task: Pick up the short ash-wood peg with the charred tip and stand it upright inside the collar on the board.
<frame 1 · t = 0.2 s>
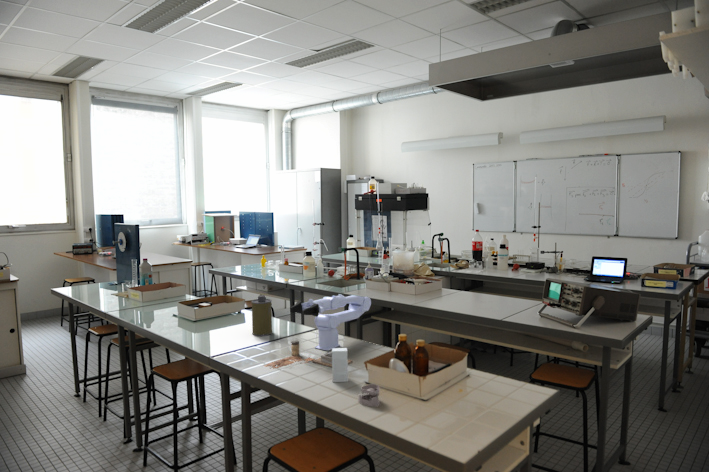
hand: (297, 311, 204), 21 cm above the lab bench, tool horizontal, fingers open, 7 cm apart
canister: (262, 333, 247), on the lab bench
wood peg: (295, 354, 211), on the lab bench
holder board: (332, 362, 201), on the lab bench
dental mold: (371, 402, 160), on the lab bench
skincare box: (340, 380, 180), on the lab bench
bark: (288, 364, 200), on the lab bench
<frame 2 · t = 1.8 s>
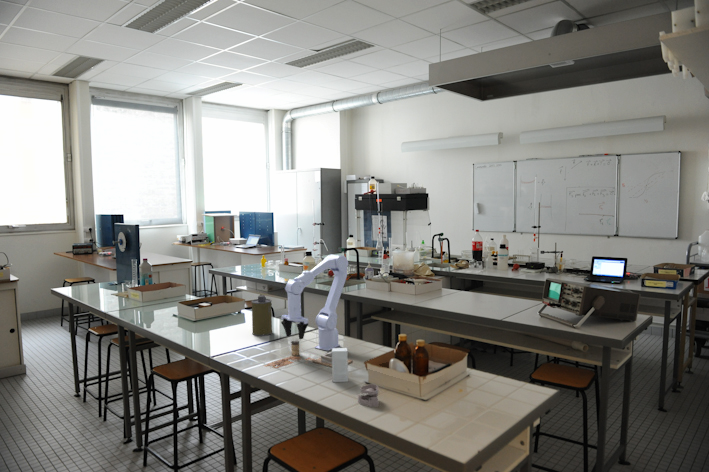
hand: (295, 337, 210), 8 cm above the lab bench, tool pointing down, fingers open, 7 cm apart
nothing on the lab bench moved.
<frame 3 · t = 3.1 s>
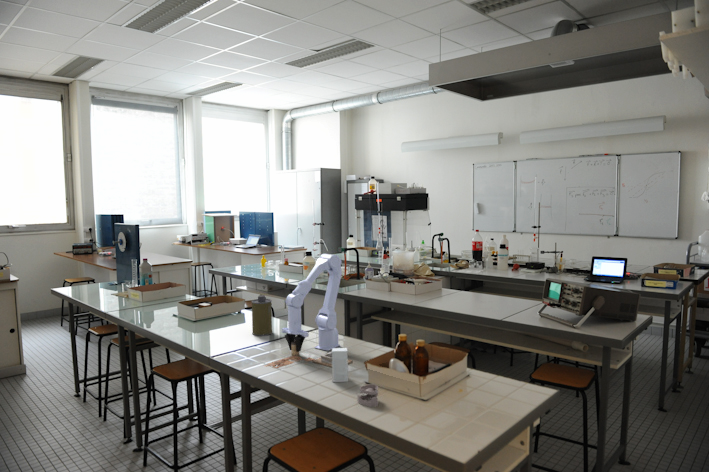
hand: (295, 350, 211), 2 cm above the lab bench, tool pointing down, fingers closed on wood peg, 3 cm apart
wood peg: (295, 354, 211), on the lab bench, touching gripper
everything else where it was.
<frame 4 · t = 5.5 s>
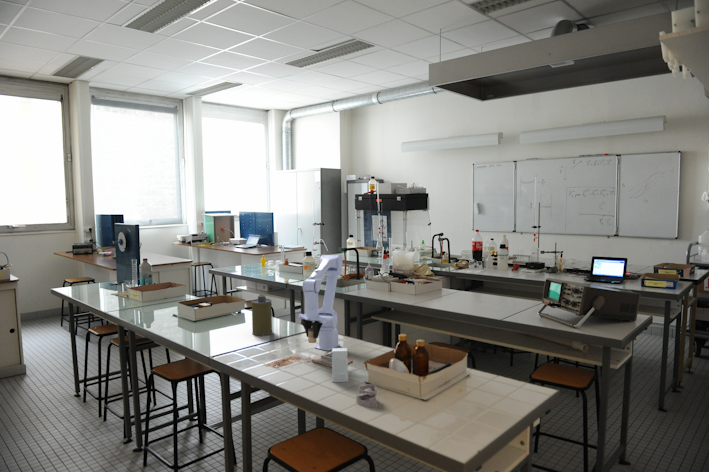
hand: (312, 337, 205), 9 cm above the lab bench, tool pointing down, fingers closed on wood peg, 3 cm apart
wood peg: (312, 341, 205), point 7 cm above the lab bench, touching gripper
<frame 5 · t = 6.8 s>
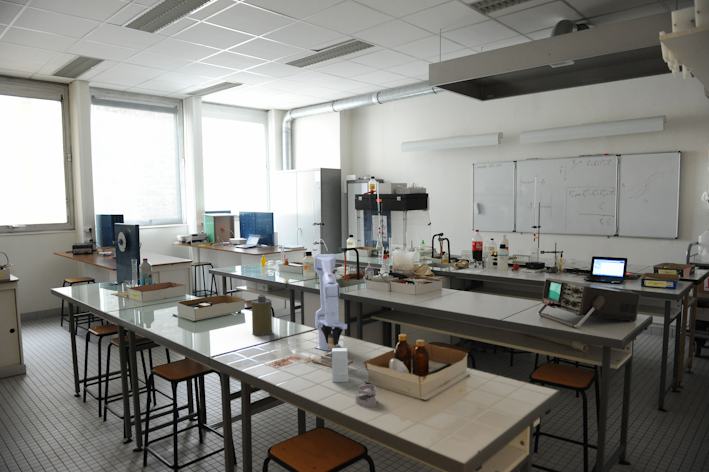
hand: (332, 343, 200), 8 cm above the lab bench, tool pointing down, fingers closed on wood peg, 3 cm apart
wood peg: (332, 348, 200), point 6 cm above the lab bench, touching gripper
when the fingers open (4 cm above the lab bench, at t = 8.0 s): wood peg drops 1 cm, resting on holder board.
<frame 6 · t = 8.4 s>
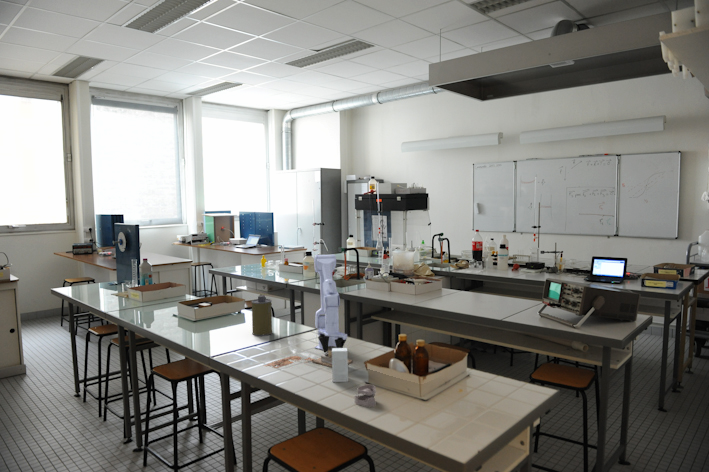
hand: (332, 353, 200), 4 cm above the lab bench, tool pointing down, fingers open, 7 cm apart
wood peg: (332, 360, 200), point 1 cm above the lab bench, touching holder board
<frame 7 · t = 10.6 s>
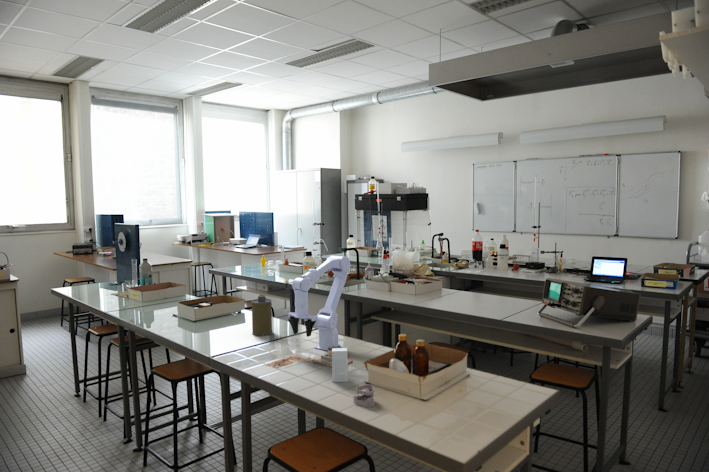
hand: (302, 334, 209), 9 cm above the lab bench, tool pointing down, fingers open, 7 cm apart
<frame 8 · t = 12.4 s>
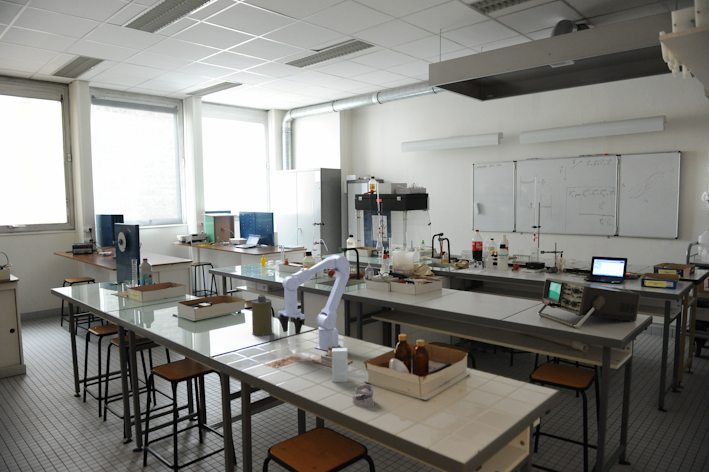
hand: (291, 332, 213), 9 cm above the lab bench, tool pointing down, fingers open, 7 cm apart
at the end: wood peg 0.1 cm off-centre on the holder board, point 0.6 cm above the holder board's base; wood peg tilted 0°; the gripper is holding nothing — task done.
